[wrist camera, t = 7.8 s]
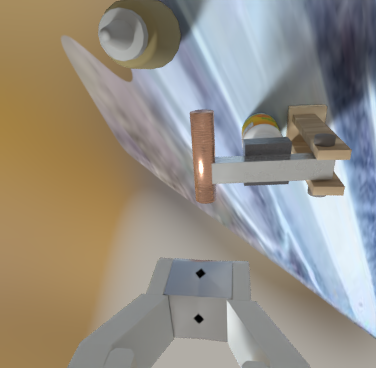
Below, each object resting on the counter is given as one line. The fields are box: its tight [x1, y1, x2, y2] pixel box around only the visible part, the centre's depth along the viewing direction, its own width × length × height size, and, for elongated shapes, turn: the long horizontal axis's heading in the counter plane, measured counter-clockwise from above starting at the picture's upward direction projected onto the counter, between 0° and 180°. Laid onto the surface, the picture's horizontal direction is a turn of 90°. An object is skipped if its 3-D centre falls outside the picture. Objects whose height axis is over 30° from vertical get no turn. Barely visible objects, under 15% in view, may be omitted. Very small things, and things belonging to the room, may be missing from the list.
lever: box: [190, 110, 335, 204], centre depth 32 cm, size 10×15×4 cm
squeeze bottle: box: [98, 0, 181, 69], centre depth 33 cm, size 8×8×18 cm
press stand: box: [286, 105, 352, 197], centre depth 36 cm, size 7×5×16 cm
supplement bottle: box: [242, 113, 283, 148], centre depth 40 cm, size 5×5×10 cm
